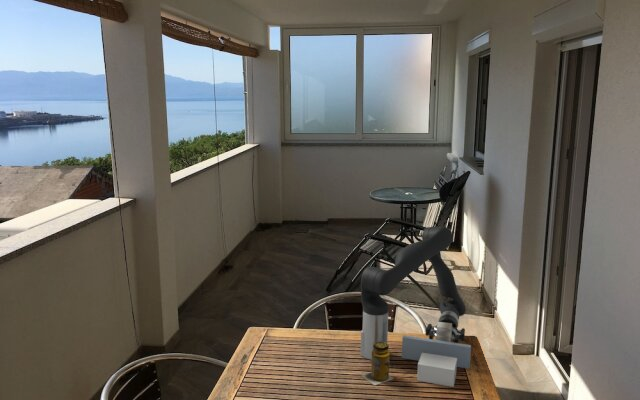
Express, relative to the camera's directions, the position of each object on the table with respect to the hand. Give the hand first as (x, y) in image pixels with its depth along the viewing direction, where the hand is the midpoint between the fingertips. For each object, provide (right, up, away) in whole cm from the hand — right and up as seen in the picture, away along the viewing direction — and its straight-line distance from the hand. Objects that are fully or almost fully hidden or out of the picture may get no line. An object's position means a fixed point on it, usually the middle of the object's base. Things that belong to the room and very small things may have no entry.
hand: (443, 340), depth 198 cm
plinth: (-5, -9, -14) cm, 17 cm away
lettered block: (0, -6, +2) cm, 7 cm away
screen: (-4, -7, -3) cm, 8 cm away
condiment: (-26, -9, -14) cm, 31 cm away
